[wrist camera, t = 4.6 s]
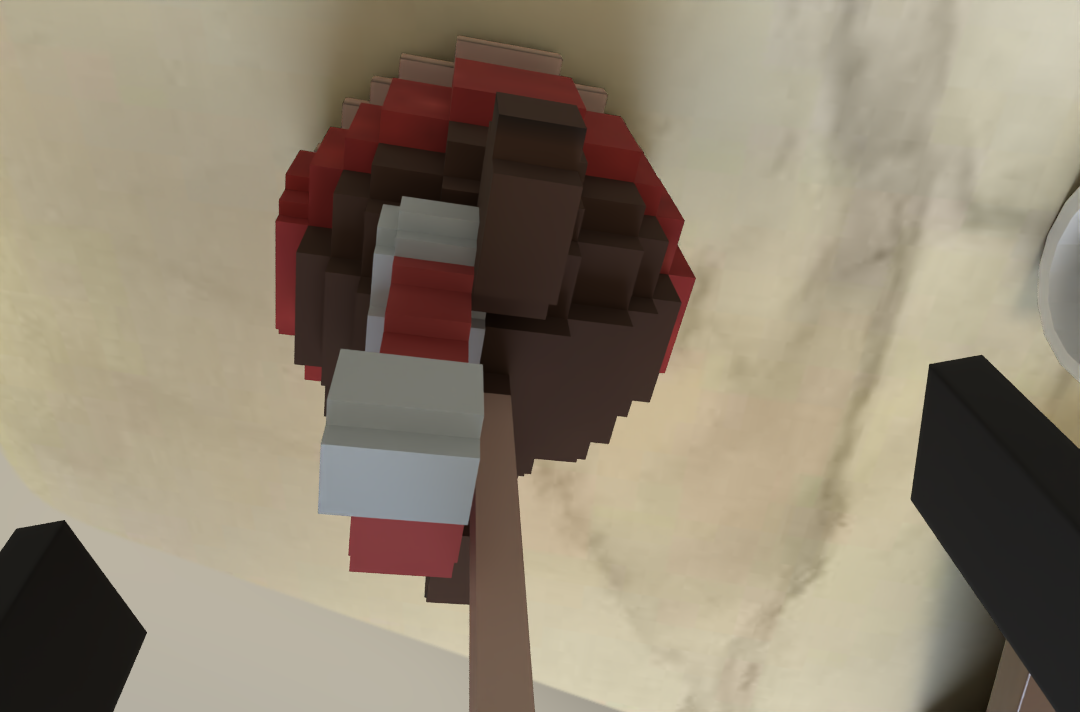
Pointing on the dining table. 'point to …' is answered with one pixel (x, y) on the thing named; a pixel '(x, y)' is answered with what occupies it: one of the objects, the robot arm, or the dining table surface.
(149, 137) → the dining table surface
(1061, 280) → the mug
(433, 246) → the cake
